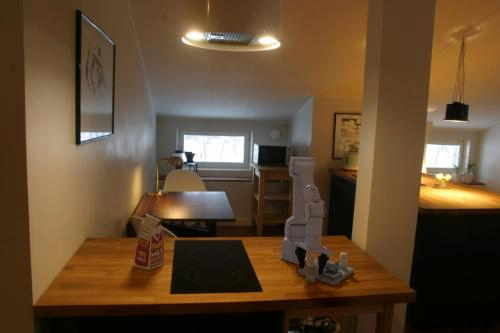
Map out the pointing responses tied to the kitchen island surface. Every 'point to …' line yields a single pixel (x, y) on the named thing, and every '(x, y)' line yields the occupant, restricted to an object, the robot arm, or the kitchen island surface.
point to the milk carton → (149, 244)
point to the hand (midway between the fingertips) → (311, 271)
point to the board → (329, 269)
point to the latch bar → (332, 265)
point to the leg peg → (310, 274)
